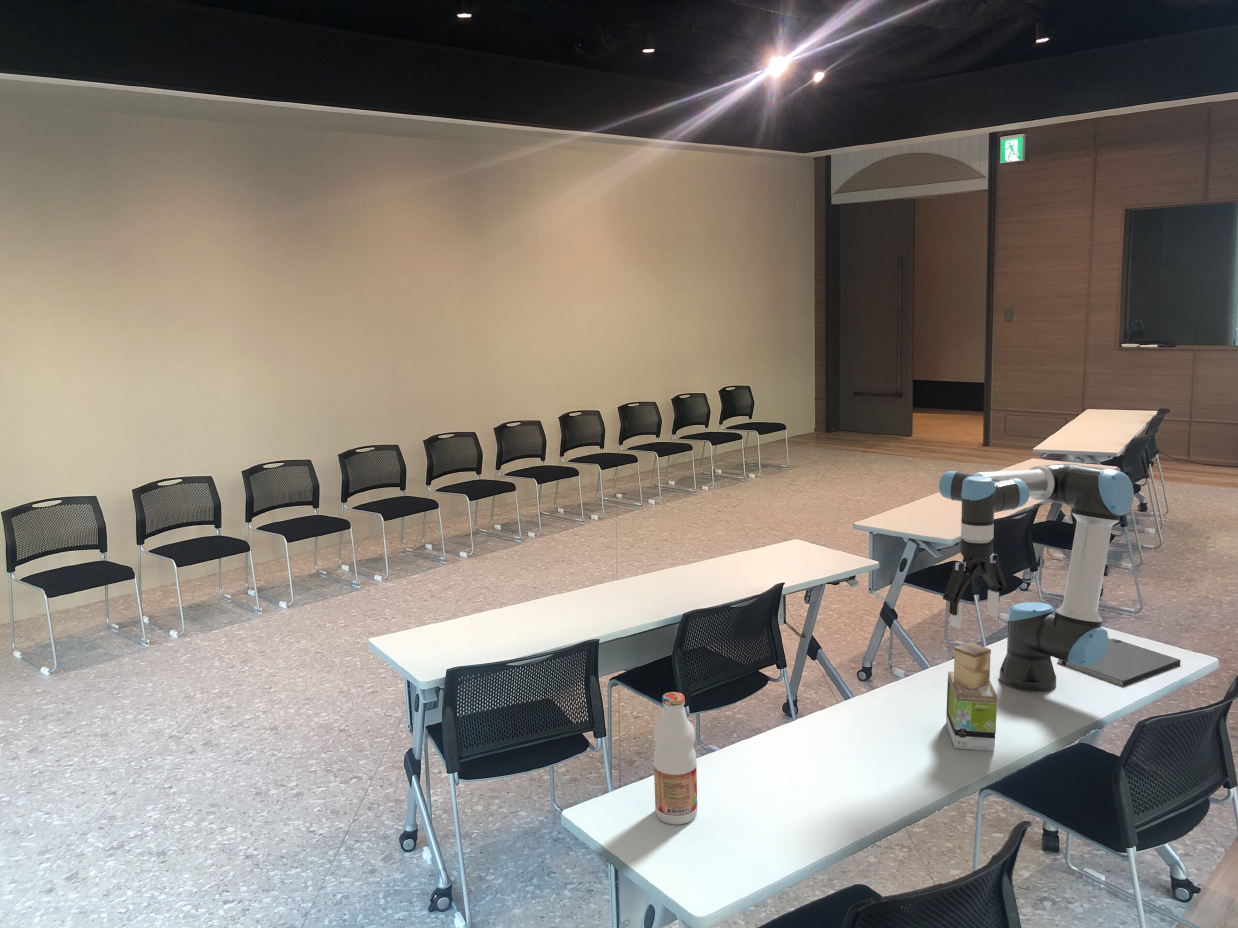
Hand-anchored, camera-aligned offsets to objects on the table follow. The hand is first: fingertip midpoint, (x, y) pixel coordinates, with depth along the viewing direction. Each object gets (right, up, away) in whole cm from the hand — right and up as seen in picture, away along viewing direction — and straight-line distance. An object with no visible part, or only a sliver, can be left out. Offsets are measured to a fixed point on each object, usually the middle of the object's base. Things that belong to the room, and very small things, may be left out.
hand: (974, 621), depth 230 cm
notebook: (+62, -22, +47) cm, 81 cm away
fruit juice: (-76, -39, -25) cm, 89 cm away
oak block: (0, -16, +3) cm, 16 cm away
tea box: (+1, -31, +5) cm, 31 cm away
